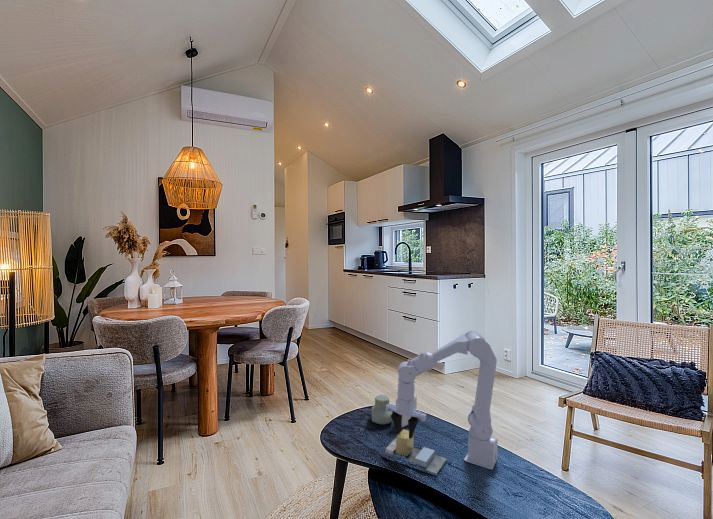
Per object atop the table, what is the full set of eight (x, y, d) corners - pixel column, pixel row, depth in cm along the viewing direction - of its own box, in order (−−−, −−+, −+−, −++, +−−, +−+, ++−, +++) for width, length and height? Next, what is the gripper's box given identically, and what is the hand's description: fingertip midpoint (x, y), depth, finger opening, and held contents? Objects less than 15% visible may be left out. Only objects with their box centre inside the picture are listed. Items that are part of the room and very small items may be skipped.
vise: (446, 461, 136) (446, 452, 136) (436, 476, 127) (436, 467, 127) (394, 444, 146) (394, 436, 146) (381, 457, 138) (381, 449, 137)
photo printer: (409, 417, 167) (410, 388, 166) (417, 420, 164) (418, 391, 163) (393, 425, 160) (394, 395, 159) (401, 429, 157) (402, 399, 156)
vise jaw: (434, 455, 137) (434, 450, 137) (426, 467, 130) (426, 461, 130) (423, 452, 139) (423, 446, 139) (414, 463, 132) (414, 458, 132)
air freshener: (371, 414, 169) (371, 392, 168) (390, 415, 169) (391, 392, 168) (372, 427, 158) (372, 403, 157) (392, 428, 158) (393, 403, 157)
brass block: (413, 448, 140) (414, 432, 140) (406, 456, 135) (407, 439, 135) (403, 445, 142) (403, 429, 142) (395, 452, 137) (396, 436, 137)
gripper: (430, 398, 137) (428, 435, 138) (392, 388, 144) (391, 424, 145) (422, 405, 131) (421, 445, 132) (383, 395, 138) (382, 433, 139)
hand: (405, 435), depth 138 cm, fingers closed on brass block, 4 cm apart
